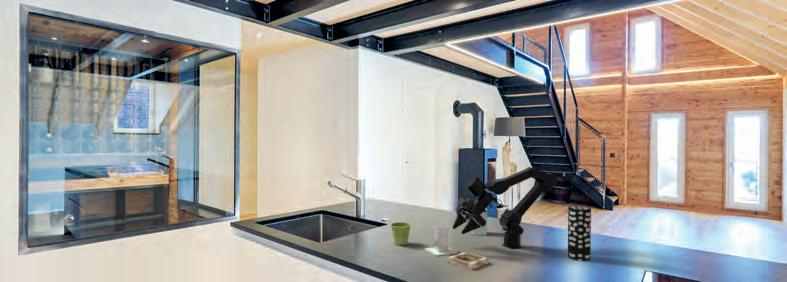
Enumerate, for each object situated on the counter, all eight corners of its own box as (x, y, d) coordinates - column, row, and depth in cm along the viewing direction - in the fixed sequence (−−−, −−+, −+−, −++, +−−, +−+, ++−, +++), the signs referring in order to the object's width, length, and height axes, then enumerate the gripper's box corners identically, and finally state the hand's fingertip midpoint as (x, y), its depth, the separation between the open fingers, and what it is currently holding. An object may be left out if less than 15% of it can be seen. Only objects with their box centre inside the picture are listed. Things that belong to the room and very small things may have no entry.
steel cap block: (443, 248, 170) (444, 224, 169) (448, 251, 165) (448, 227, 165) (434, 248, 168) (434, 225, 168) (438, 252, 164) (438, 228, 163)
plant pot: (403, 248, 171) (403, 227, 171) (385, 244, 177) (386, 224, 177) (415, 243, 179) (415, 224, 179) (398, 239, 184) (398, 221, 184)
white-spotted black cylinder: (588, 255, 162) (589, 206, 161) (591, 262, 154) (592, 210, 153) (566, 253, 164) (567, 205, 164) (568, 259, 156) (569, 209, 156)
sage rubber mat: (445, 247, 173) (445, 245, 173) (457, 253, 164) (457, 252, 164) (424, 249, 169) (425, 248, 169) (436, 256, 160) (436, 254, 160)
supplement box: (486, 235, 193) (487, 209, 193) (471, 234, 195) (471, 209, 195) (486, 232, 201) (486, 207, 200) (471, 231, 202) (471, 206, 202)
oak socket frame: (464, 256, 159) (464, 251, 159) (488, 263, 151) (488, 257, 151) (447, 262, 152) (447, 257, 152) (471, 269, 144) (471, 264, 144)
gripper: (459, 188, 178) (436, 213, 176) (479, 194, 160) (453, 223, 158) (475, 204, 181) (453, 230, 178) (496, 212, 163) (472, 241, 160)
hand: (457, 230), depth 168 cm, fingers open, 9 cm apart
